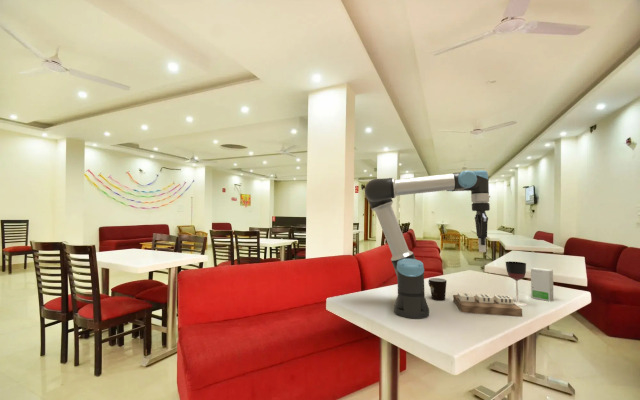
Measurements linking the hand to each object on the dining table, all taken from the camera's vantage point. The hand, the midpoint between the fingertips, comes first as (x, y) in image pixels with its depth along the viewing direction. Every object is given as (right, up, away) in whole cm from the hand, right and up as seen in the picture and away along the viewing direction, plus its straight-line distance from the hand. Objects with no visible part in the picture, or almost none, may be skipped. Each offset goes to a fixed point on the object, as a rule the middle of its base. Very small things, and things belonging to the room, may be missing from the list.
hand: (482, 251), depth 136 cm
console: (0, -26, -2) cm, 26 cm away
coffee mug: (-15, -28, +16) cm, 35 cm away
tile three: (+8, -23, -3) cm, 24 cm away
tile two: (0, -23, -1) cm, 23 cm away
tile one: (-8, -23, +1) cm, 24 cm away
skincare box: (+39, -27, +13) cm, 49 cm away
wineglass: (+21, -27, +5) cm, 34 cm away
